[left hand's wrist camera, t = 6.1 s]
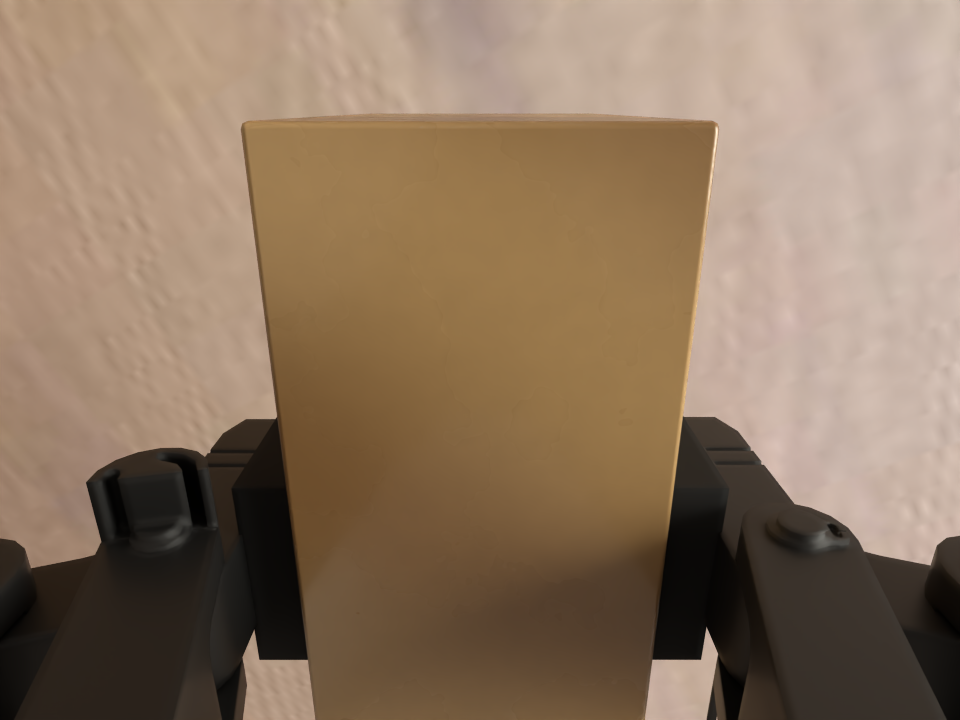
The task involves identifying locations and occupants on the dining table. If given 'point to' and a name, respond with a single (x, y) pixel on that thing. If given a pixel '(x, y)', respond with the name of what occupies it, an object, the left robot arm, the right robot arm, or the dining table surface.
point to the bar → (480, 399)
